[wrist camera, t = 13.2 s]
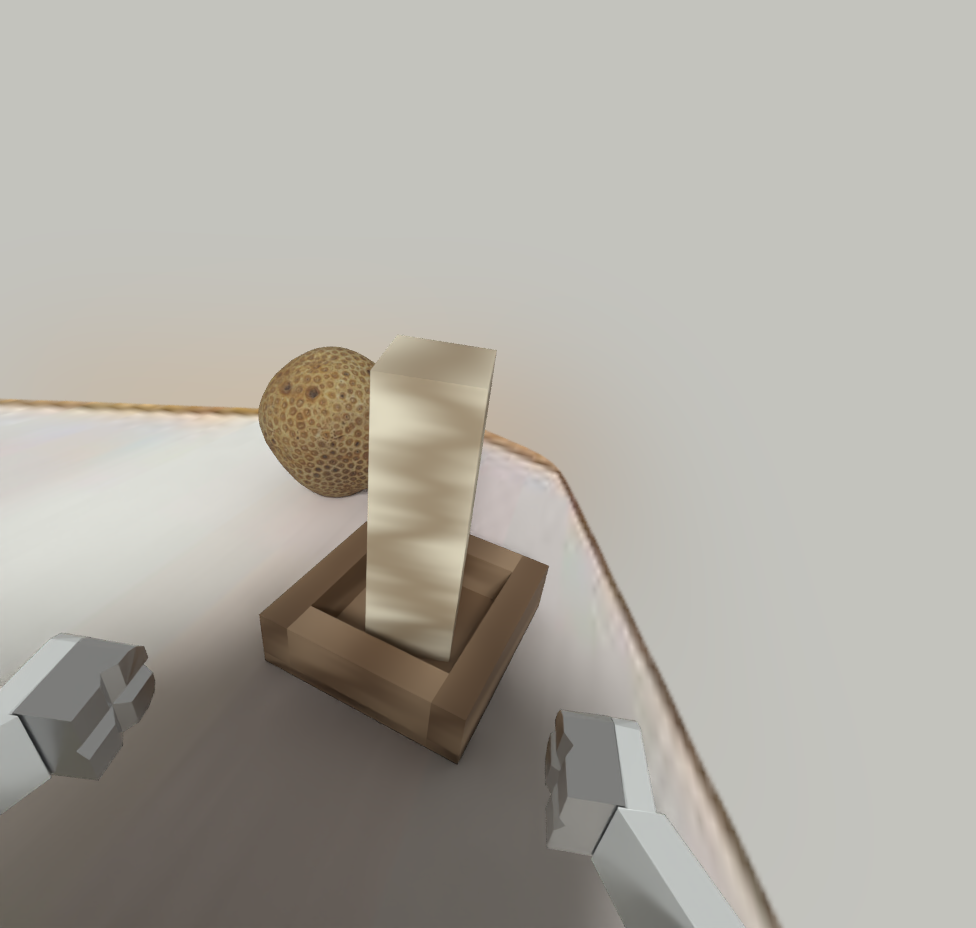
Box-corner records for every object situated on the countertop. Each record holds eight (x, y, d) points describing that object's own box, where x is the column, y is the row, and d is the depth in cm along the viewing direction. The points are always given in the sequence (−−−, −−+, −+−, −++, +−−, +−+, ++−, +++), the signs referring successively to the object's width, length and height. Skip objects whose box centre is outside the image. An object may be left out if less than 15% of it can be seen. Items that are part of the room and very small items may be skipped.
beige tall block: (364, 649, 25) (370, 370, 18) (385, 588, 28) (397, 334, 21) (448, 662, 25) (488, 388, 18) (459, 600, 28) (496, 350, 21)
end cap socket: (265, 659, 24) (259, 614, 23) (387, 541, 32) (388, 502, 31) (457, 764, 21) (465, 720, 20) (538, 605, 30) (548, 565, 28)
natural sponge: (275, 452, 39) (264, 320, 34) (397, 453, 41) (403, 329, 36) (258, 530, 32) (240, 376, 27) (407, 526, 34) (417, 382, 29)
